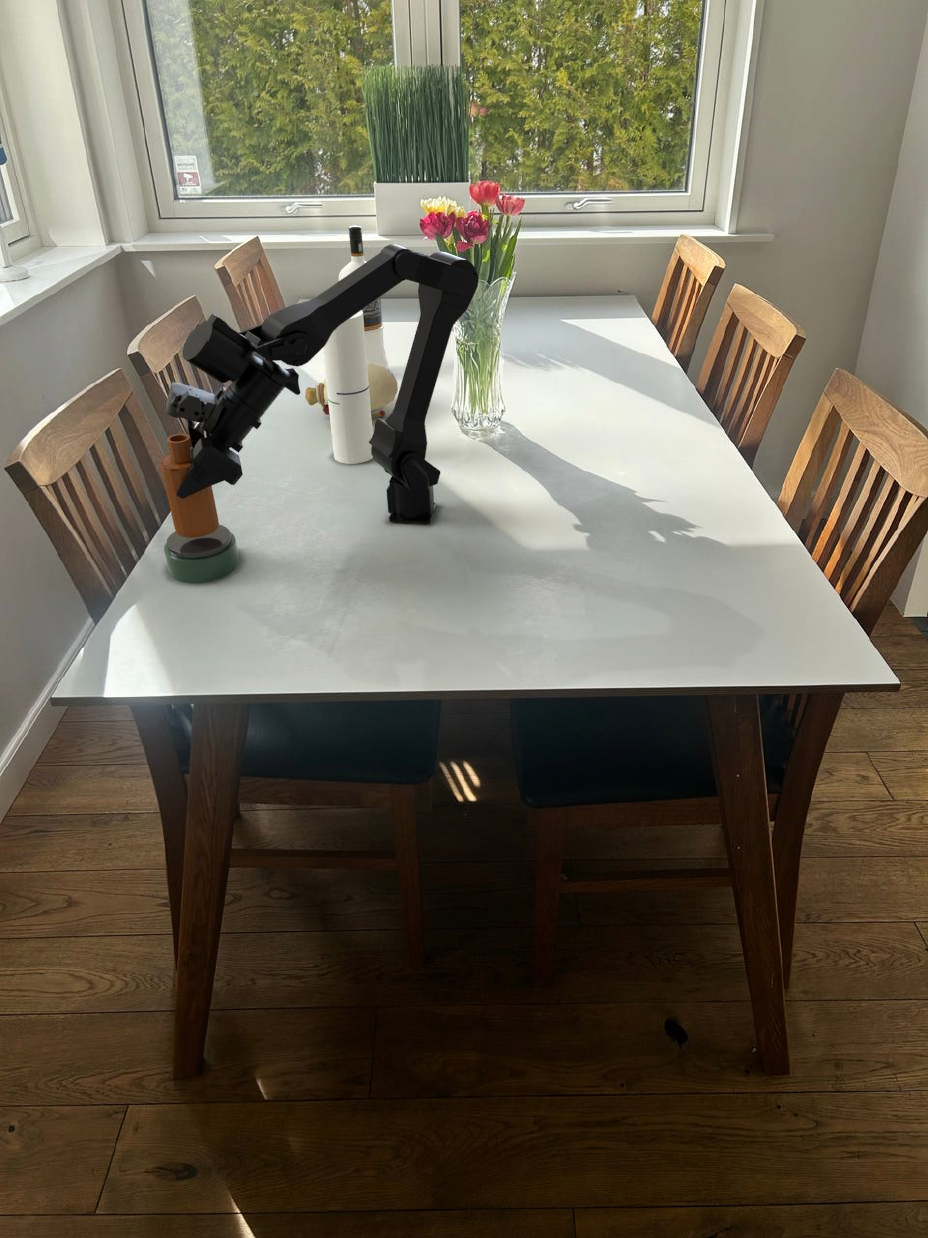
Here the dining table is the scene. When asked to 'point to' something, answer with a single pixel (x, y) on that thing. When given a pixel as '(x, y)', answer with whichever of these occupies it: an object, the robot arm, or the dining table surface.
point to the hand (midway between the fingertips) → (178, 486)
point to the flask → (379, 389)
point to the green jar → (202, 556)
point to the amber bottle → (195, 510)
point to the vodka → (373, 310)
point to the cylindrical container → (349, 392)
